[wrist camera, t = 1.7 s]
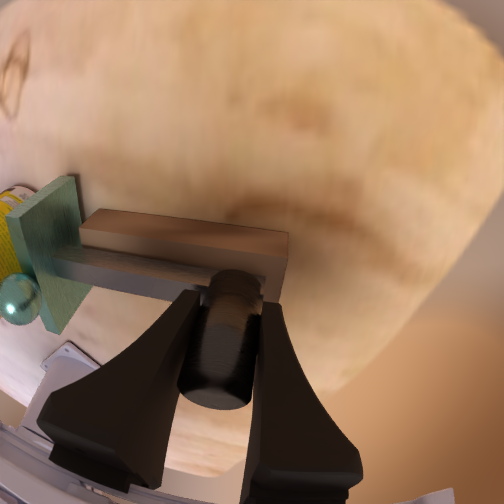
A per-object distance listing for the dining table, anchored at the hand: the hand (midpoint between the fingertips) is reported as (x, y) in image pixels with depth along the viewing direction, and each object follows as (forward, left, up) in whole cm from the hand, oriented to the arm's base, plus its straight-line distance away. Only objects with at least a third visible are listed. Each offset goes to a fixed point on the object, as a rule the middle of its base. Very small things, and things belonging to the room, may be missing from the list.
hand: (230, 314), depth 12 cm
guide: (-2, +2, -4) cm, 5 cm away
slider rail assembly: (-3, +3, -4) cm, 6 cm away
